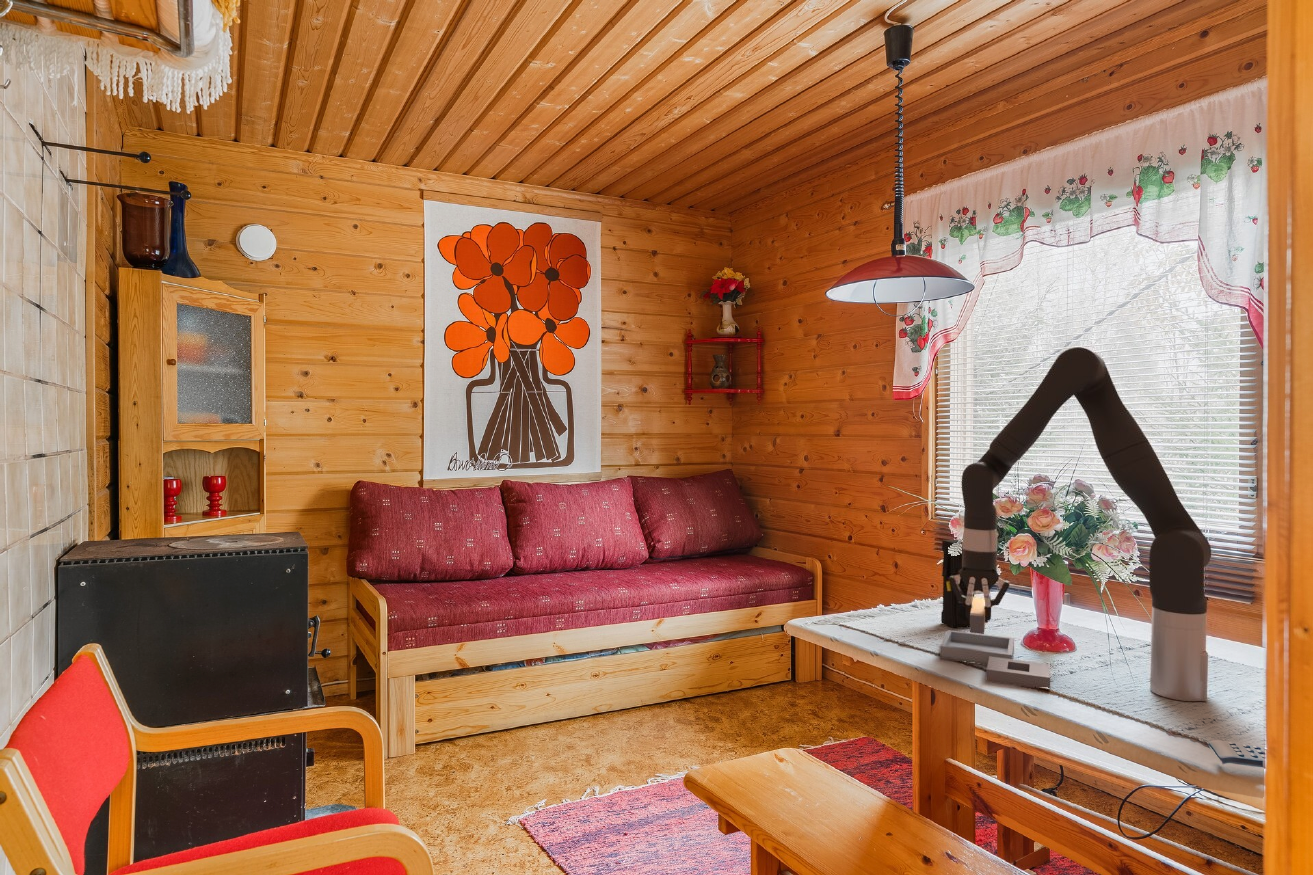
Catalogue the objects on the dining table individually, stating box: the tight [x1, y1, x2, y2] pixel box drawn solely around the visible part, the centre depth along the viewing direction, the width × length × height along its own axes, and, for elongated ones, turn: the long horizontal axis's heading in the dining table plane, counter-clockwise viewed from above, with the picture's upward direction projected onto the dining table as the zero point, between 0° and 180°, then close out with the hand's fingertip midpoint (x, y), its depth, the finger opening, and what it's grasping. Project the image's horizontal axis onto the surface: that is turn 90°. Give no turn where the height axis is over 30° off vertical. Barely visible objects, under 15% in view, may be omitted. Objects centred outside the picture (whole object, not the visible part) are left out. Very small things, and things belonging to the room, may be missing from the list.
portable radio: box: [940, 539, 975, 629], centre depth 211 cm, size 8×6×25 cm
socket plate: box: [986, 656, 1051, 689], centre depth 169 cm, size 12×10×2 cm
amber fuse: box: [969, 596, 986, 635], centre depth 186 cm, size 3×4×9 cm
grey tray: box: [939, 630, 1015, 666], centre depth 186 cm, size 15×15×3 cm
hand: (978, 620), depth 186 cm, fingers closed on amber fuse, 2 cm apart
